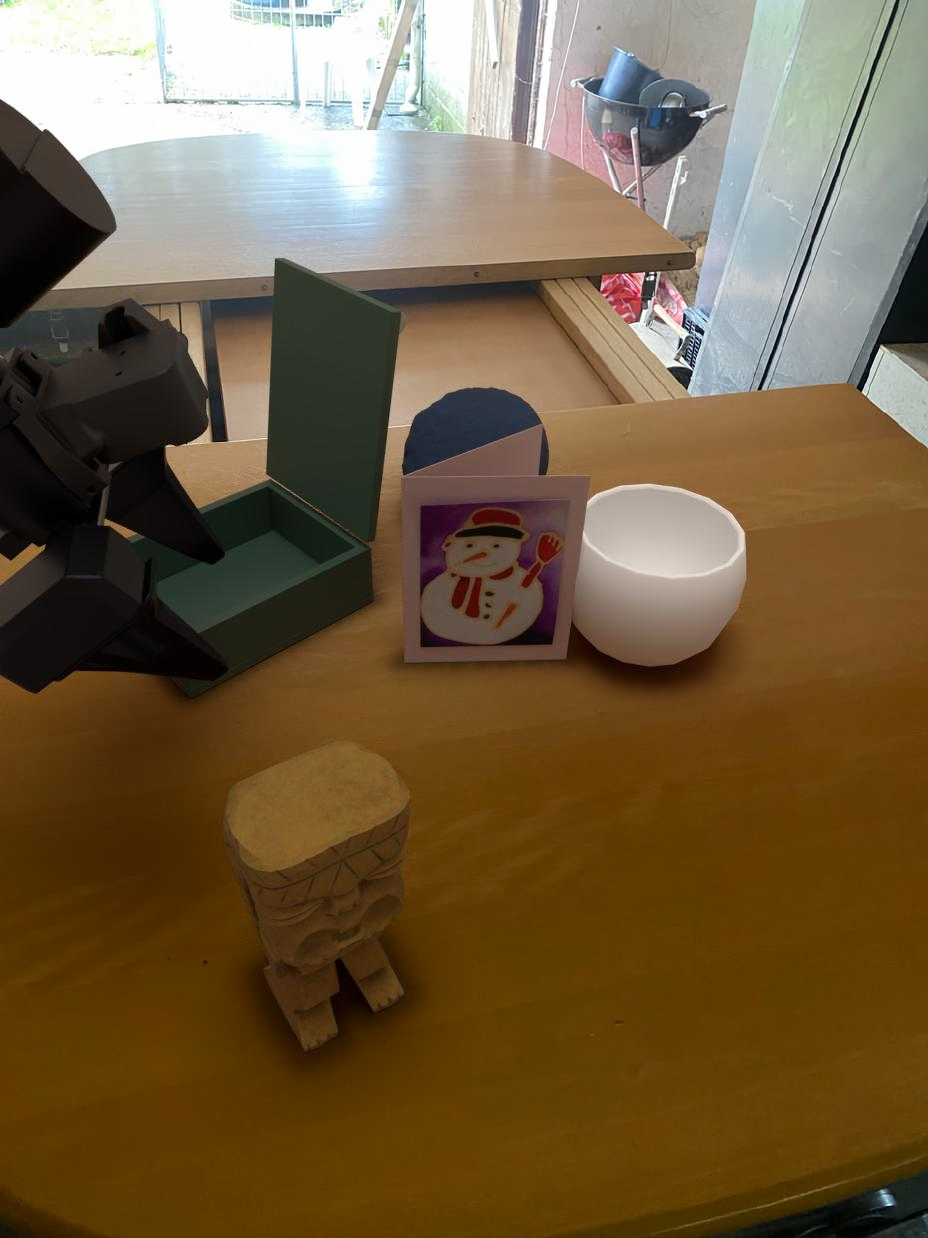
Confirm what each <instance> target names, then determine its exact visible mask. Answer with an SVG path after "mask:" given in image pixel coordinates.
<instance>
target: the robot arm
mask: <svg viewBox="0 0 928 1238" xmlns="http://www.w3.org/2000/svg"><path fill="white" fill-rule="evenodd" d="M117 228H118V226H117V220H116V217H115V215H114V211H113V209H112V208H111V206H110V204H109V202H108V201H107V199H106V197H105V195H104V194H103V192H102V190H101V189H100V188H99V186H98V185H97V183H96V182H95V181H94V180H93V178H92V177H91V175H90V174H89V173H88V172H87V170H86V169H85V168H84V167H83V166H82V164H81V163H80V162H79V161H78V159H77V158H76V157H75V156H74V155H73V154H72V153H71V151H70V150H69V149H68V148H67V147H66V146H65V145H64V144H63V143H62V142H61V141H60V140H59V139H58V138H57V136H56V135H54V133H52V132H51V131H50V130H49V129H47V128H43V130H41V128H39V127H38V126H37V125H36V124H34V123H33V122H32V120H30V118H28V117H27V116H25V115H24V114H23V113H21V112H20V111H19V110H17V108H15V107H13V106H12V105H11V104H9V103H7V102H6V101H5V100H3V99H1V98H0V329H8V328H10V327H11V326H13V325H14V324H16V323H17V322H18V321H19V320H20V319H22V318H23V317H24V316H25V314H27V313H28V311H30V310H31V309H32V308H33V307H34V306H35V305H36V304H38V302H40V301H41V300H42V299H43V298H44V297H45V296H46V295H48V293H49V292H50V291H52V290H53V289H54V288H55V287H56V286H57V285H58V284H59V283H61V282H62V281H63V280H64V279H65V277H67V276H68V275H69V274H70V273H72V271H74V270H75V268H77V267H79V265H80V264H81V263H82V262H83V261H84V260H86V259H87V258H89V256H90V255H91V254H92V253H93V252H95V250H96V249H98V248H99V247H100V246H101V245H102V244H103V243H104V242H105V241H107V240H108V239H109V237H111V236H112V235H113V234H115V232H116V231H117ZM209 396H210V394H209V390H208V389H207V386H206V385H205V383H204V380H203V378H202V376H201V374H200V372H199V371H198V369H197V367H196V365H195V363H194V361H193V359H192V356H191V355H190V353H189V338H188V336H187V335H186V333H183V332H182V331H178V329H177V328H176V327H174V326H173V324H172V322H171V319H170V318H166V319H163V320H160V319H158V318H157V317H156V316H155V315H153V314H152V313H151V312H149V311H148V310H147V309H145V308H144V307H143V306H141V305H140V304H139V303H138V302H136V300H135V299H133V298H126V299H123V300H120V301H117V302H115V303H111V304H109V305H106V306H103V307H102V308H101V309H100V311H99V316H98V320H97V349H95V350H94V349H93V348H92V346H90V345H89V346H87V347H84V348H82V349H81V352H80V356H79V357H78V358H76V359H75V360H72V361H69V362H67V363H64V364H62V365H59V366H58V367H54V366H53V365H51V364H50V363H49V362H47V361H46V360H45V359H43V358H42V357H41V356H40V355H39V354H38V353H37V352H35V351H34V350H33V349H31V348H26V349H24V350H23V348H21V347H19V346H18V345H17V344H15V345H14V346H13V347H12V348H11V349H10V350H8V351H7V353H5V354H4V355H1V354H0V555H1V556H3V557H4V558H6V559H7V560H9V561H12V560H14V559H15V558H16V557H18V556H19V555H20V554H21V553H23V552H24V551H25V550H26V549H28V547H30V546H31V545H32V544H33V545H34V546H36V547H37V548H41V547H43V546H44V549H43V550H41V551H40V552H39V553H37V555H35V556H34V557H33V558H32V559H30V560H29V561H28V562H27V563H26V564H24V565H22V567H20V568H19V569H18V570H17V571H16V572H15V573H13V574H12V575H11V576H10V577H9V578H7V579H6V580H5V581H4V582H3V583H1V584H0V676H1V678H2V677H3V678H4V679H6V680H8V681H9V682H11V683H12V684H14V685H16V686H18V687H19V688H21V689H22V690H25V691H27V692H28V693H30V694H31V693H32V694H34V695H37V694H39V693H40V692H42V691H43V690H44V689H45V688H47V687H48V686H49V685H50V684H52V683H53V682H55V683H59V682H62V681H64V680H65V679H66V678H67V677H69V676H70V675H71V674H73V673H74V672H105V673H106V672H107V673H108V672H109V673H110V672H112V673H114V672H115V673H130V674H141V675H149V676H150V675H151V676H160V677H168V678H170V677H177V678H186V679H195V680H204V681H215V680H217V679H218V678H219V677H221V676H222V675H224V674H225V673H226V672H227V671H228V663H227V662H226V660H225V659H224V658H223V657H222V656H221V655H220V654H219V653H218V652H217V651H216V650H215V649H214V648H213V647H212V646H211V645H210V644H209V643H208V642H207V641H206V640H205V639H204V638H203V637H201V636H200V635H199V634H198V633H197V632H196V631H195V630H194V629H193V628H192V627H190V626H189V625H188V624H187V623H186V622H185V621H184V620H183V619H182V618H181V617H179V616H178V615H177V614H176V613H175V612H174V611H173V610H172V609H171V608H170V607H168V606H167V605H166V604H165V603H164V602H163V601H162V600H161V599H160V598H159V597H158V594H157V581H156V562H155V559H154V558H153V557H151V558H150V559H148V560H147V561H146V562H145V563H144V562H143V561H142V559H141V557H140V556H139V554H138V552H137V551H136V549H135V548H134V546H133V544H132V543H131V542H130V541H129V540H128V539H127V538H128V537H125V536H124V535H123V534H122V533H120V532H119V531H118V530H116V529H115V528H114V527H113V526H111V525H105V522H106V520H107V521H109V522H111V523H114V524H116V525H119V526H120V527H123V528H125V529H127V530H129V531H132V532H133V533H135V534H140V535H142V536H144V537H147V538H149V539H151V540H153V541H155V542H157V543H160V544H162V545H164V546H166V547H168V548H171V549H173V550H175V551H177V552H179V553H181V554H184V555H186V556H188V557H191V558H194V559H196V560H199V561H202V562H204V563H207V564H210V565H213V564H215V563H217V562H218V561H219V560H221V559H222V558H223V557H224V556H225V549H224V547H223V545H222V544H221V543H220V541H219V540H218V538H217V537H216V535H215V534H214V532H213V531H212V529H211V528H210V526H209V525H208V523H207V522H206V520H205V519H204V517H203V516H202V515H201V513H200V512H199V510H198V507H197V506H196V504H195V503H194V501H193V500H192V498H191V497H190V495H189V494H188V492H187V490H186V488H184V486H183V485H182V483H181V481H180V480H179V478H178V477H177V475H176V474H175V472H174V471H173V468H172V467H171V466H170V464H169V461H168V459H167V458H168V457H167V447H168V446H174V447H182V446H183V445H187V444H189V443H191V442H194V441H196V440H197V439H198V438H200V437H201V436H202V435H204V433H205V432H206V431H207V430H208V427H209V425H210V419H209V416H208V415H209V414H208V403H207V402H208V399H209Z"/></svg>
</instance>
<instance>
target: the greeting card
mask: <svg viewBox="0 0 928 1238" xmlns="http://www.w3.org/2000/svg"><path fill="white" fill-rule="evenodd" d="M543 426H544V423H542V424H540V425H538V426H535V427H532V428H530V429H527V430H524V431H522V432H519V433H516V434H514V435H511V436H508V437H506V438H503V439H500V440H498V441H495V442H492V443H490V444H487V445H484V446H482V447H479V448H476V449H474V450H471V451H468V452H466V453H463V454H460V455H458V456H455V457H453V458H450V459H447V460H445V461H442V462H439V463H437V464H434V465H431V466H429V467H426V468H423V469H421V470H418V471H415V472H413V473H410V474H407V475H405V476H403V475H402V476H400V489H401V490H400V492H401V494H400V495H401V496H400V497H401V551H402V553H401V554H402V555H401V557H402V558H401V559H402V601H403V602H402V611H403V613H402V615H403V660H404V661H403V663H404V664H408V663H409V664H410V663H412V664H413V663H415V664H416V663H453V662H455V663H457V662H499V661H546V660H550V661H551V660H567V655H568V647H569V642H570V641H569V639H570V633H571V625H572V611H573V598H574V591H575V583H576V576H577V573H578V567H579V560H580V552H581V545H582V538H583V530H584V523H585V515H586V508H587V501H589V492H590V486H591V485H590V484H591V480H592V479H591V477H592V475H590V474H588V475H587V474H586V475H585V474H584V475H581V474H580V475H576V474H575V475H546V476H538V474H539V463H540V452H541V441H542V431H543Z"/></svg>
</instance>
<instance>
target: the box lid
mask: <svg viewBox="0 0 928 1238" xmlns="http://www.w3.org/2000/svg"><path fill="white" fill-rule="evenodd" d="M273 269H274V270H273V293H272V317H271V318H272V319H271V320H272V321H271V342H270V369H269V389H268V391H269V393H268V415H267V416H268V417H267V419H268V420H267V439H266V464H265V465H266V467H265V475H267V476H268V477H269V478H270V479H272V480H273V481H274V482H276V483H278V484H279V485H281V486H282V487H283V488H285V489H286V490H288V491H289V492H291V493H292V494H294V495H295V496H297V497H298V498H300V499H301V500H302V501H304V502H305V503H307V504H308V505H310V506H311V507H313V508H314V509H316V510H317V511H318V512H320V513H321V514H323V515H324V516H326V517H327V518H329V519H330V520H332V521H333V522H334V523H336V524H337V525H339V526H340V527H342V528H343V529H345V530H346V531H348V532H349V533H351V534H352V535H353V536H355V537H356V538H358V539H359V540H361V541H362V542H364V543H365V544H369V543H372V542H374V541H376V538H377V537H376V536H377V529H378V527H377V526H378V519H379V512H380V511H379V510H380V501H381V494H382V484H383V476H384V467H385V459H386V451H387V441H388V434H389V433H388V432H389V424H390V416H391V407H392V399H393V390H394V381H395V374H396V373H395V371H396V363H397V355H398V347H399V339H400V334H402V332H403V331H404V330H405V328H406V326H407V317H406V314H405V313H404V312H403V311H402V310H400V309H398V308H396V307H393V306H392V305H389V304H387V303H385V302H382V301H380V300H378V299H375V298H373V297H372V296H369V295H367V294H364V293H363V292H360V291H358V290H356V289H353V288H352V287H349V286H347V285H345V284H343V283H340V282H338V281H336V280H334V279H331V278H329V277H327V276H325V275H323V274H321V273H318V272H316V271H314V270H312V269H310V268H307V267H305V266H303V265H301V264H298V263H297V262H294V261H293V260H290V259H287V258H285V257H275V258H274V268H273Z"/></svg>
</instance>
